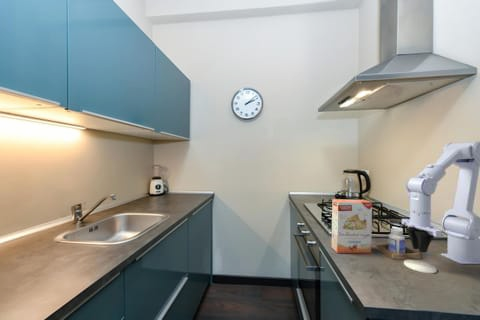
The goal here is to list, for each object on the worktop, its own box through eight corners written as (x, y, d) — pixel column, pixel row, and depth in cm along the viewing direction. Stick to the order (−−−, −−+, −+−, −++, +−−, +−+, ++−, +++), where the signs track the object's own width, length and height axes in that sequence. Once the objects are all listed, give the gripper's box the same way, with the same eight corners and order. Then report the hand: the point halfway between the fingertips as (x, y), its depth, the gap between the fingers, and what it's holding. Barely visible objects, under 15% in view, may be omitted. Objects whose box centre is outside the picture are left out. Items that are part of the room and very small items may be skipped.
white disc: (421, 261, 83) (421, 259, 83) (444, 273, 74) (444, 271, 74) (397, 261, 83) (397, 259, 83) (417, 273, 74) (417, 271, 74)
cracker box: (337, 254, 89) (337, 201, 89) (331, 248, 95) (331, 198, 95) (372, 254, 89) (372, 201, 89) (363, 248, 95) (364, 199, 95)
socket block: (399, 248, 95) (399, 243, 95) (420, 259, 84) (420, 254, 84) (375, 248, 94) (375, 243, 94) (393, 259, 84) (393, 254, 84)
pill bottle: (402, 252, 91) (403, 228, 91) (406, 257, 86) (406, 232, 86) (387, 250, 93) (387, 226, 93) (389, 255, 88) (390, 230, 88)
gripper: (394, 207, 85) (393, 242, 85) (426, 217, 71) (426, 259, 71) (412, 207, 86) (411, 242, 86) (448, 217, 71) (448, 259, 71)
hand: (419, 250), depth 78 cm, fingers closed
